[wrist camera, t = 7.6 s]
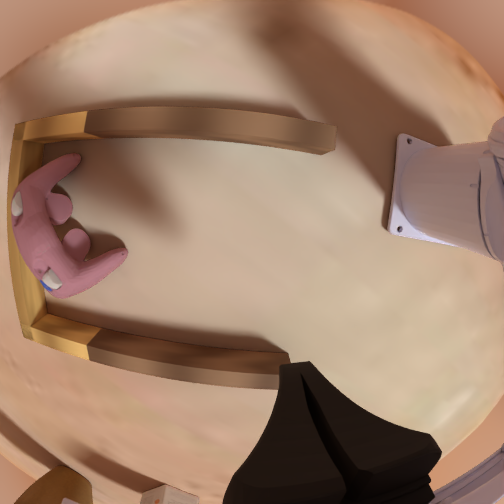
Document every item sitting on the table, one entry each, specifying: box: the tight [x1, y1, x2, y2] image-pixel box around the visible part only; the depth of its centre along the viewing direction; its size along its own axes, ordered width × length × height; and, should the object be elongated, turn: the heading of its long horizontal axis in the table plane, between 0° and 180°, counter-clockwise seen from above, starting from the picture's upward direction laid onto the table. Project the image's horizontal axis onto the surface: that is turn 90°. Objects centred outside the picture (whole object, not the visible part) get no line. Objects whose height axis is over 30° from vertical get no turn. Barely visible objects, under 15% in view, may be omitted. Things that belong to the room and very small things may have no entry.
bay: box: [7, 106, 337, 390], centre depth 17 cm, size 24×18×3 cm
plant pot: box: [14, 465, 93, 504], centre depth 20 cm, size 15×15×16 cm
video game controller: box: [11, 153, 128, 299], centre depth 16 cm, size 10×5×7 cm, turn 28°
